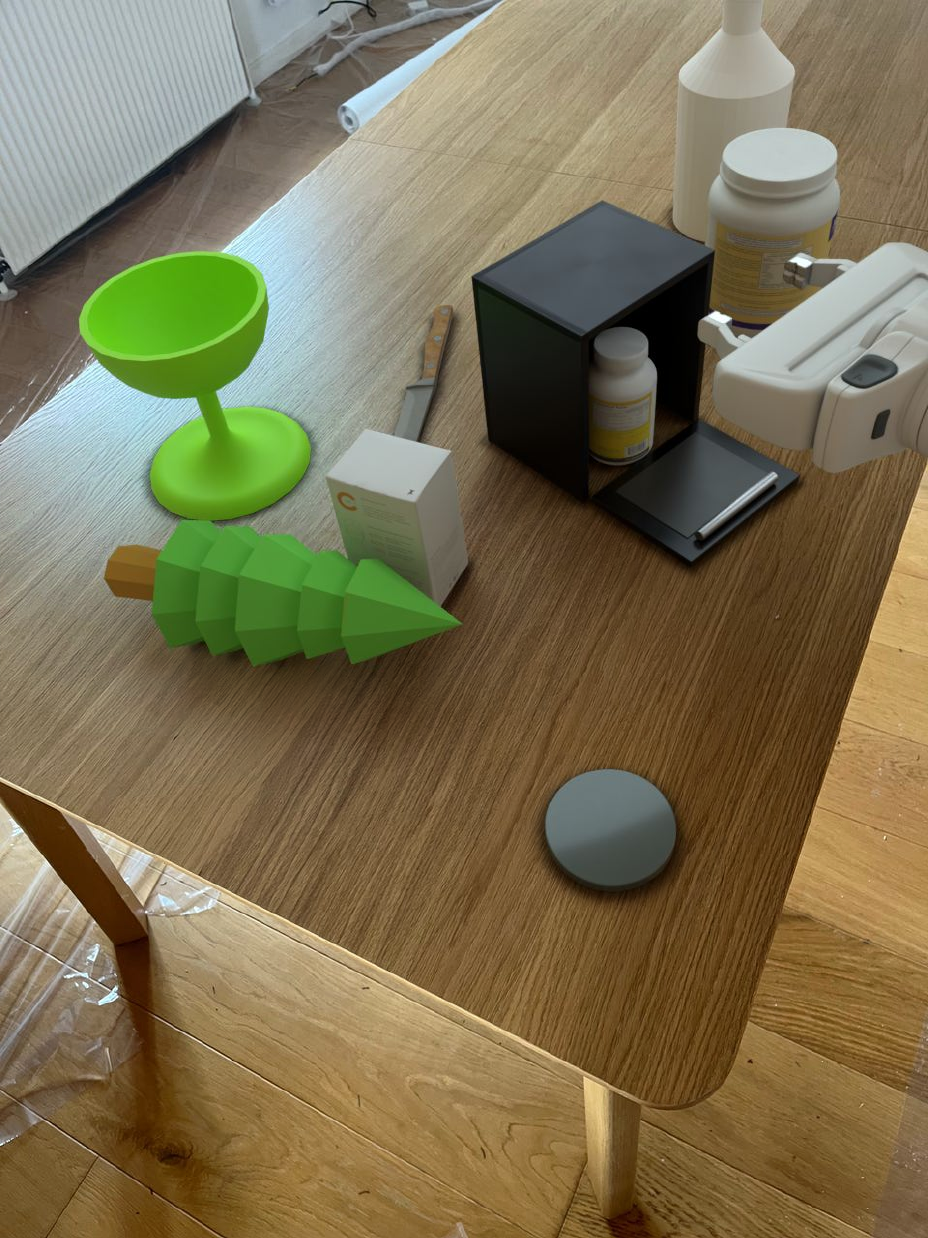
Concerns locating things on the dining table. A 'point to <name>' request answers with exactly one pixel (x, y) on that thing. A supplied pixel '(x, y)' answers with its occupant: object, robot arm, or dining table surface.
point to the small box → (401, 510)
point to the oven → (559, 375)
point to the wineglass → (198, 378)
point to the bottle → (725, 105)
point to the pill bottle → (621, 397)
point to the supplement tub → (769, 222)
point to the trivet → (610, 830)
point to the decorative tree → (271, 595)
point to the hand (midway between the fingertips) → (748, 294)
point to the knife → (425, 378)
